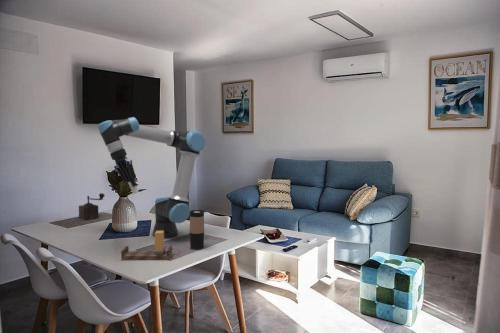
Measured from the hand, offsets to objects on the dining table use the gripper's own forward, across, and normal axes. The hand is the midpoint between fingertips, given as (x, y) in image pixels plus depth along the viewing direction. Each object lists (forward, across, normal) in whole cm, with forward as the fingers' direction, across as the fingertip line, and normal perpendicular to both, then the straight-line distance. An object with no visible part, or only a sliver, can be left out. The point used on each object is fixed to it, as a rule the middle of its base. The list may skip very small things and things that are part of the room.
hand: (136, 192), depth 188 cm
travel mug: (+41, +11, +13) cm, 44 cm away
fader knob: (+31, +9, -8) cm, 33 cm away
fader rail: (+31, +4, -12) cm, 34 cm away
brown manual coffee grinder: (+12, -97, +25) cm, 101 cm away
